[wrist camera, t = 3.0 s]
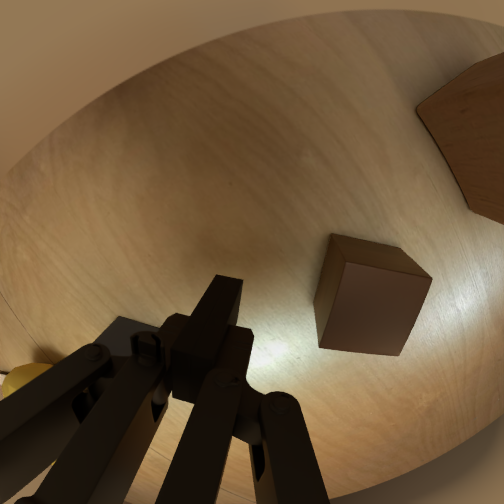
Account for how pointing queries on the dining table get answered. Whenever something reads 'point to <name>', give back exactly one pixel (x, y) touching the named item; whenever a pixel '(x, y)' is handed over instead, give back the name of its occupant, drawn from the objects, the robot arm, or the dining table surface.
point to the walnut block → (368, 297)
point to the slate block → (122, 335)
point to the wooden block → (473, 133)
